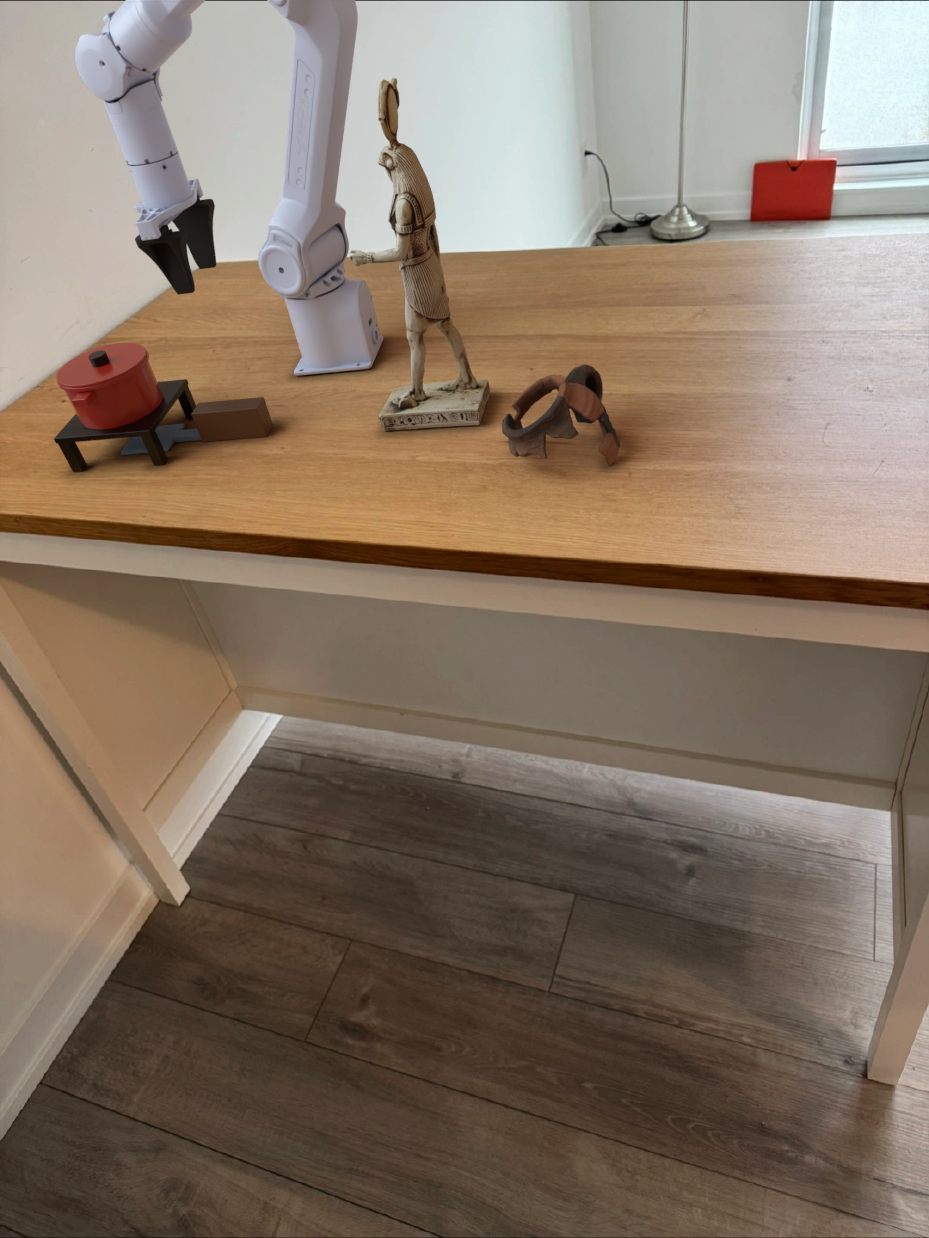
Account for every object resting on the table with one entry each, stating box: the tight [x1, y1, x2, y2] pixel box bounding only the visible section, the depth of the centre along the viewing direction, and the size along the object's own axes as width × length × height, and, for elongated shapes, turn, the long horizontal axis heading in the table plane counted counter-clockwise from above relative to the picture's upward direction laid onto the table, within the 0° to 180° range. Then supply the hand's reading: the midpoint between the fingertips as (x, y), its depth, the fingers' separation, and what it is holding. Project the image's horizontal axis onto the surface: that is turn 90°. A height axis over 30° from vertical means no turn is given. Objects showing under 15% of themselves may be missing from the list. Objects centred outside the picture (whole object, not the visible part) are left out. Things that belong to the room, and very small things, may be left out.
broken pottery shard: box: [501, 364, 621, 467], centre depth 80 cm, size 12×10×8 cm
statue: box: [349, 77, 491, 432], centre depth 81 cm, size 7×10×30 cm
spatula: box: [120, 396, 274, 456], centre depth 94 cm, size 16×5×3 cm, turn 83°
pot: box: [53, 342, 197, 473], centre depth 93 cm, size 11×12×10 cm
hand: (197, 279), depth 105 cm, fingers open, 7 cm apart
